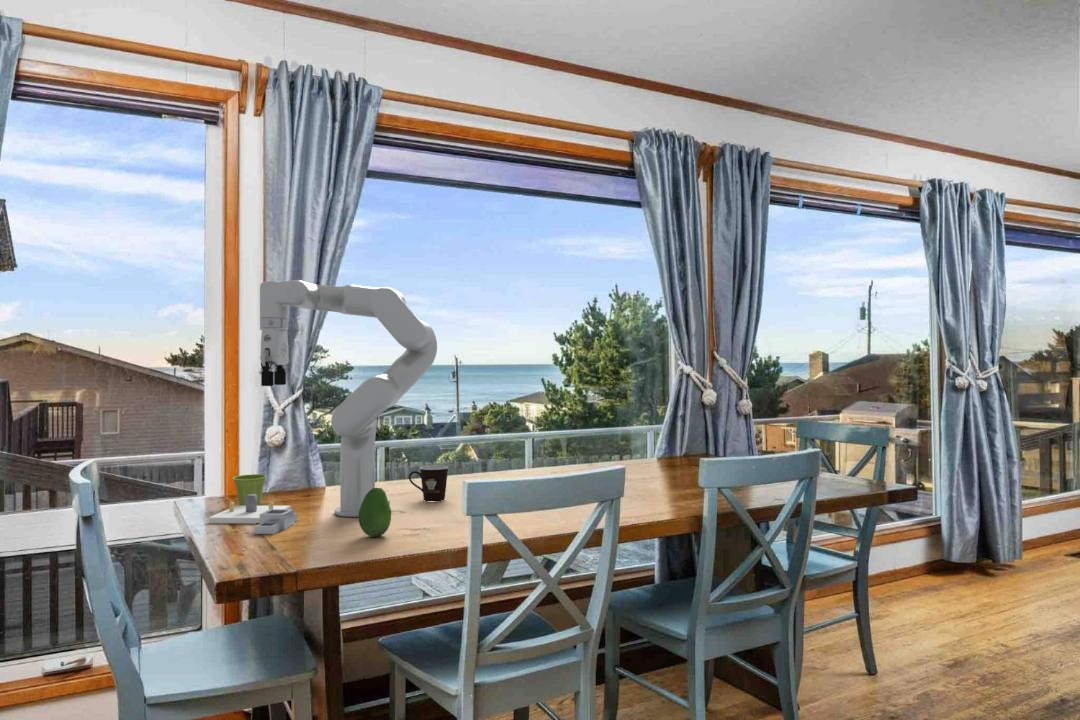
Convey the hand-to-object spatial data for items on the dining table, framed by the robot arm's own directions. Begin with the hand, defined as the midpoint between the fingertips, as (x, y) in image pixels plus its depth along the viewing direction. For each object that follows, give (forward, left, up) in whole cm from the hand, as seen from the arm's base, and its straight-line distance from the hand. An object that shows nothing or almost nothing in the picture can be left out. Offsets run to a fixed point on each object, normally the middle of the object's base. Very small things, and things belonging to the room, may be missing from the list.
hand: (273, 385), depth 207 cm
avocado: (-36, +26, -36) cm, 58 cm away
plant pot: (+11, -10, -36) cm, 39 cm away
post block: (+4, +5, -36) cm, 37 cm away
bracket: (-8, +17, -36) cm, 41 cm away
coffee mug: (-41, -21, -36) cm, 58 cm away
